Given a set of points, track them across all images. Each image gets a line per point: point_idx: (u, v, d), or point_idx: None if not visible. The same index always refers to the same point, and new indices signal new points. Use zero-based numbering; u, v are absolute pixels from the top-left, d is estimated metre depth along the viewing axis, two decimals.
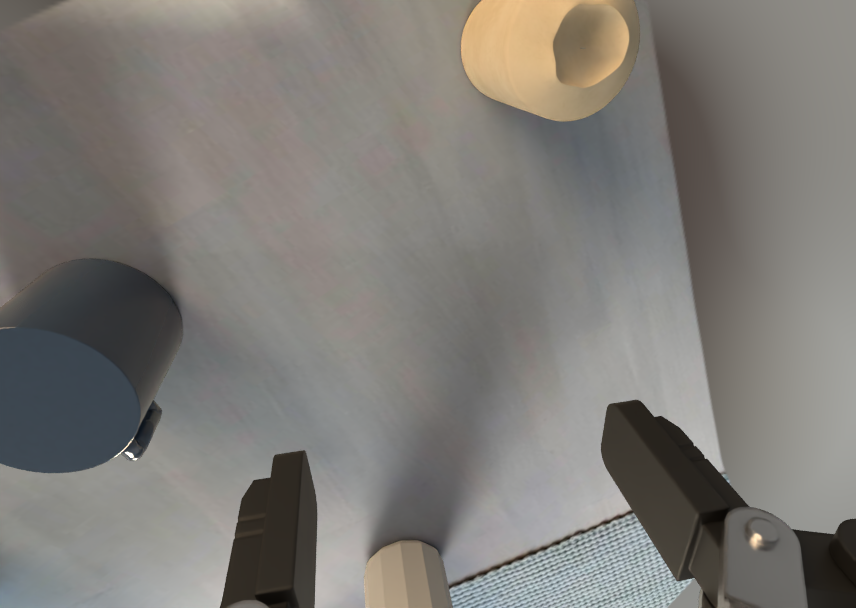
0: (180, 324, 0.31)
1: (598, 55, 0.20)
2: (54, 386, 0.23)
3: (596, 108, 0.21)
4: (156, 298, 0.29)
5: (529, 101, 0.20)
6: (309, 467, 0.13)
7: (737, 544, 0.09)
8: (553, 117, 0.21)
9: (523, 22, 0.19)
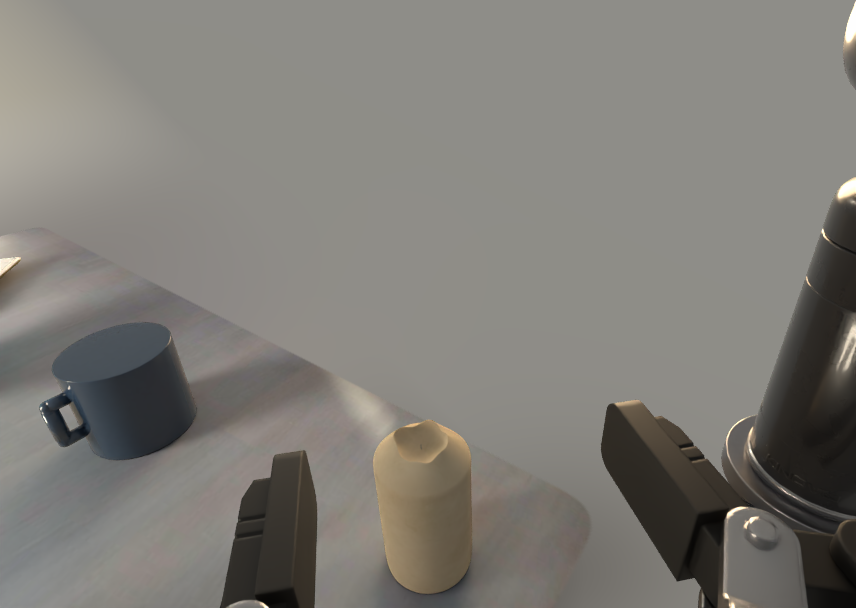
0: (144, 451, 0.41)
1: (423, 458, 0.27)
2: (128, 350, 0.41)
3: (395, 485, 0.26)
4: (170, 427, 0.42)
5: (377, 450, 0.29)
6: (309, 467, 0.13)
7: (737, 544, 0.09)
8: (375, 468, 0.28)
9: (415, 423, 0.30)
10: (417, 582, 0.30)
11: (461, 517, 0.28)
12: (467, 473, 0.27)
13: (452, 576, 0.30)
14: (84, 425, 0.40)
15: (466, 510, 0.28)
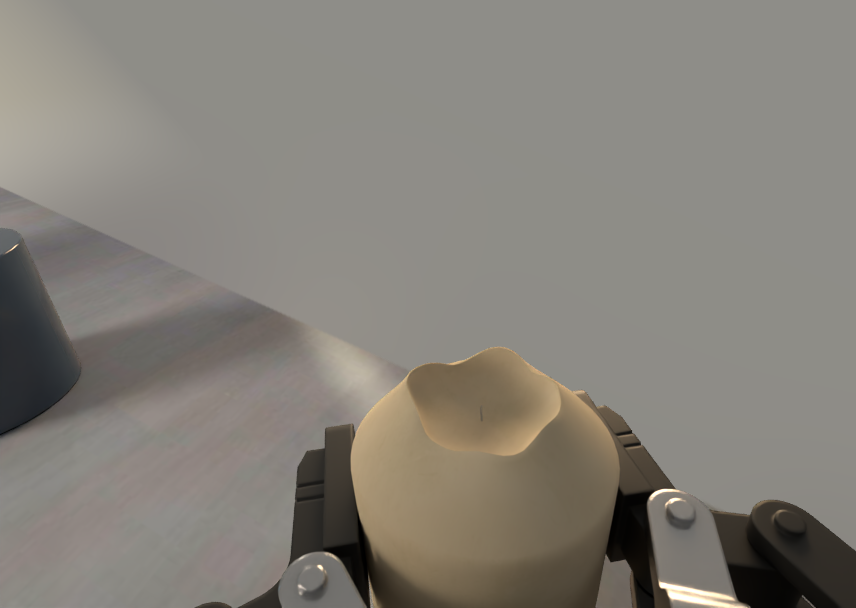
0: None
1: (492, 444, 0.10)
2: None
3: (414, 523, 0.09)
4: (16, 399, 0.25)
5: (364, 423, 0.11)
6: None
7: (661, 529, 0.10)
8: (357, 470, 0.10)
9: None
10: None
11: (589, 607, 0.10)
12: (617, 487, 0.10)
13: None
14: None
15: None
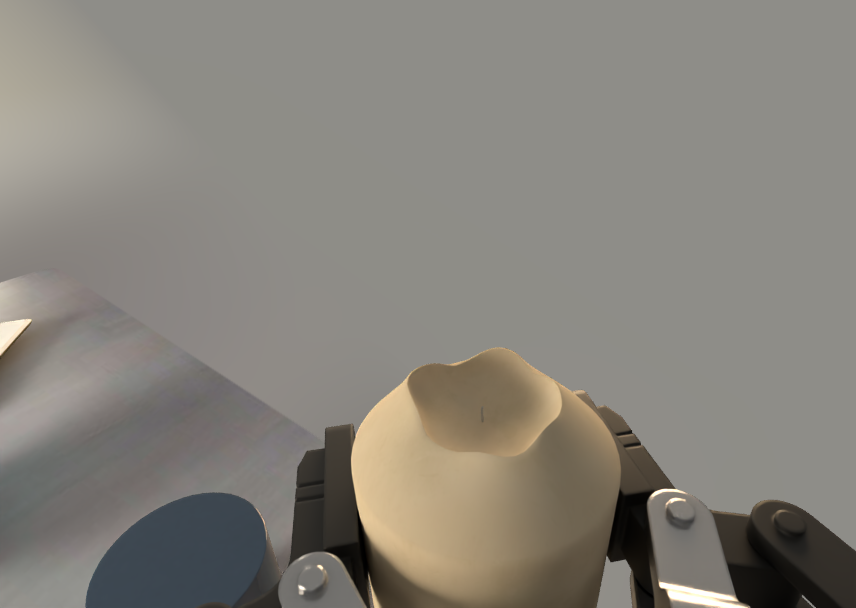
0: None
1: (493, 445, 0.10)
2: (204, 565, 0.26)
3: (415, 524, 0.09)
4: None
5: (364, 423, 0.11)
6: None
7: (661, 529, 0.10)
8: (357, 471, 0.10)
9: None
10: None
11: None
12: (618, 488, 0.10)
13: None
14: None
15: (599, 587, 0.11)
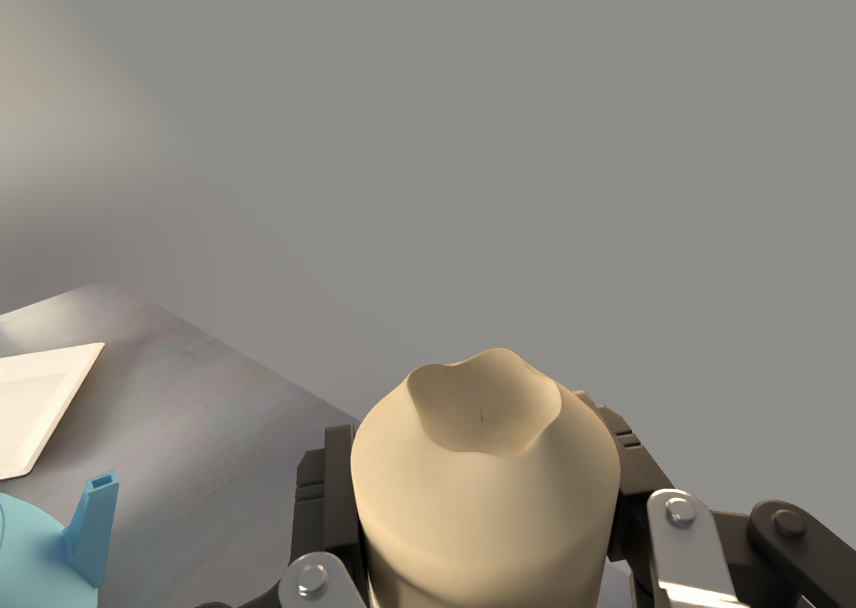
0: None
1: (493, 445, 0.10)
2: None
3: (414, 524, 0.09)
4: None
5: (364, 424, 0.11)
6: None
7: (661, 529, 0.10)
8: (357, 472, 0.10)
9: None
10: None
11: None
12: (618, 488, 0.10)
13: None
14: None
15: (599, 587, 0.11)
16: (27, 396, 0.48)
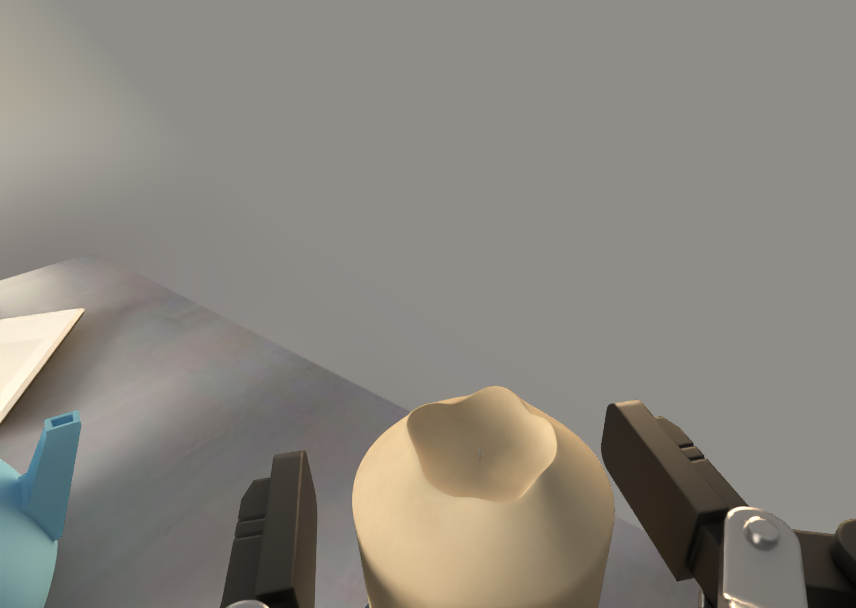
0: None
1: (491, 487, 0.10)
2: None
3: (415, 569, 0.09)
4: None
5: (365, 461, 0.11)
6: (309, 467, 0.13)
7: (737, 544, 0.09)
8: (358, 512, 0.10)
9: None
10: None
11: None
12: (612, 529, 0.10)
13: None
14: None
15: None
16: None
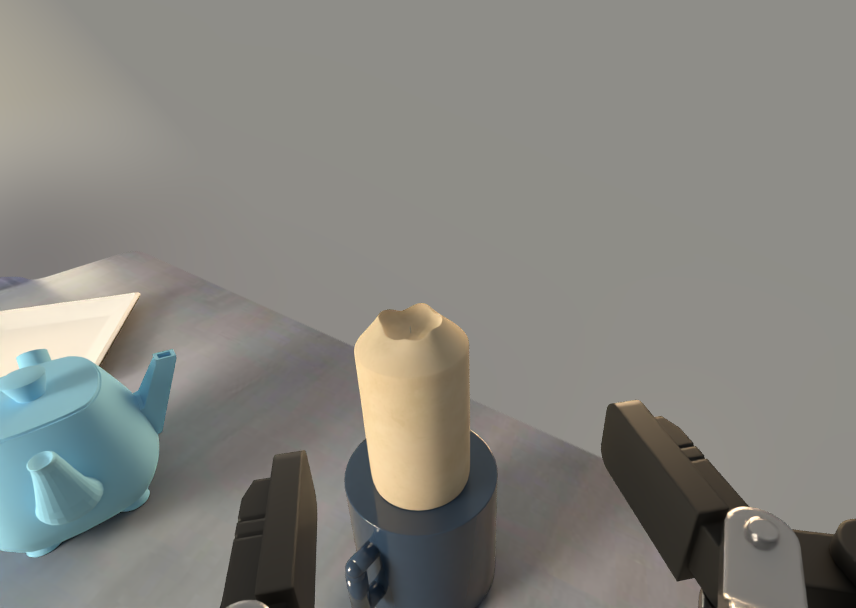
0: None
1: None
2: None
3: (379, 366, 0.22)
4: (488, 576, 0.30)
5: (360, 337, 0.25)
6: (309, 467, 0.13)
7: (737, 544, 0.09)
8: (357, 353, 0.24)
9: None
10: (406, 495, 0.25)
11: (457, 414, 0.24)
12: (464, 358, 0.23)
13: (447, 489, 0.26)
14: (389, 585, 0.27)
15: (463, 407, 0.24)
16: (79, 331, 0.59)
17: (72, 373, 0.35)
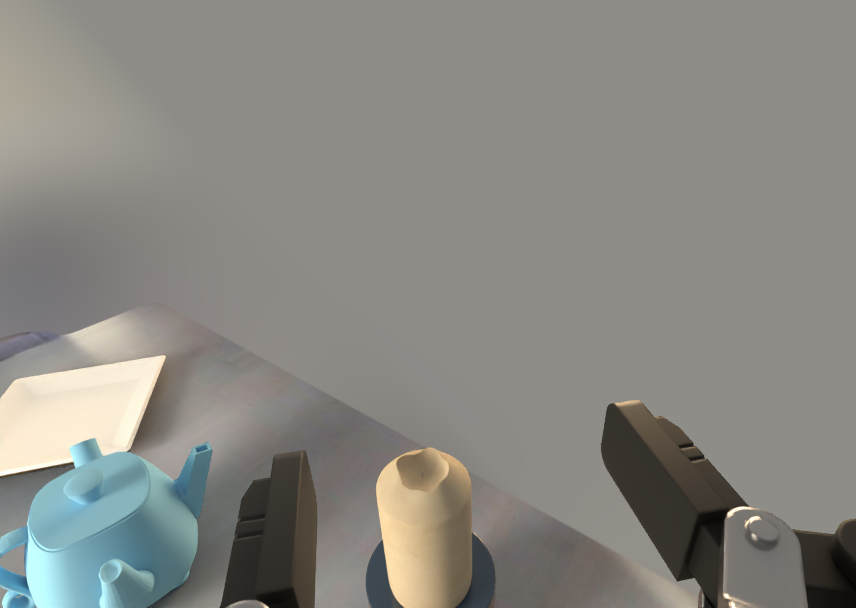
0: None
1: (425, 486, 0.28)
2: None
3: (398, 513, 0.27)
4: None
5: (380, 476, 0.30)
6: (309, 467, 0.13)
7: (737, 544, 0.09)
8: (378, 495, 0.29)
9: (417, 450, 0.31)
10: (419, 605, 0.30)
11: (461, 543, 0.29)
12: (467, 501, 0.28)
13: (453, 599, 0.31)
14: None
15: (466, 536, 0.29)
16: (112, 396, 0.64)
17: (124, 471, 0.40)
